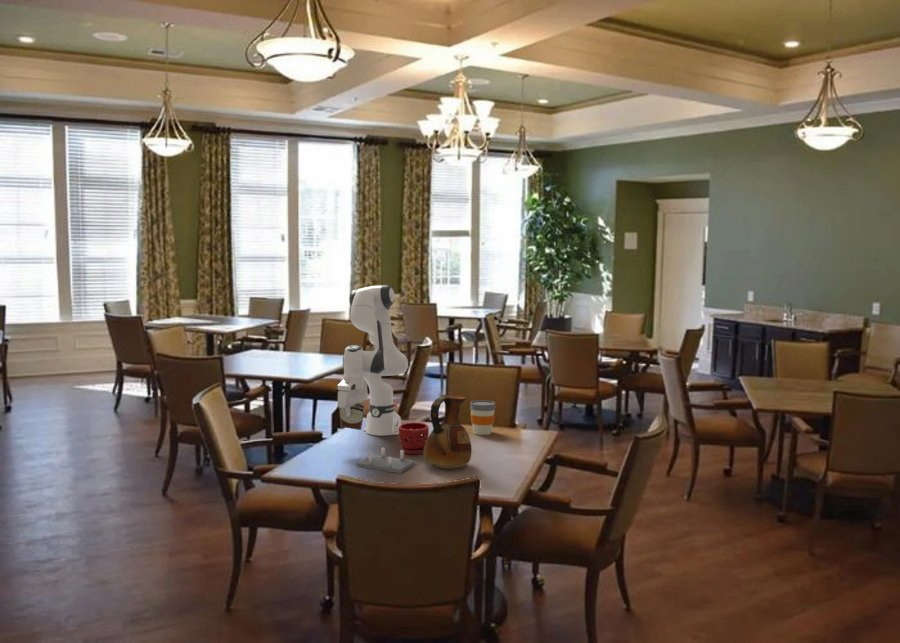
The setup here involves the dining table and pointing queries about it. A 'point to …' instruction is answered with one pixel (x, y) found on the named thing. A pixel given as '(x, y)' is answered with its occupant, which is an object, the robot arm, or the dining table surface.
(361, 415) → the food container
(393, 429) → the robot arm
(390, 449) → the dining table surface
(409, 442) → the plant pot
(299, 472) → the dining table surface
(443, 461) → the ceramic pitcher
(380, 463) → the pin tray
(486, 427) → the reusable coffee cup
